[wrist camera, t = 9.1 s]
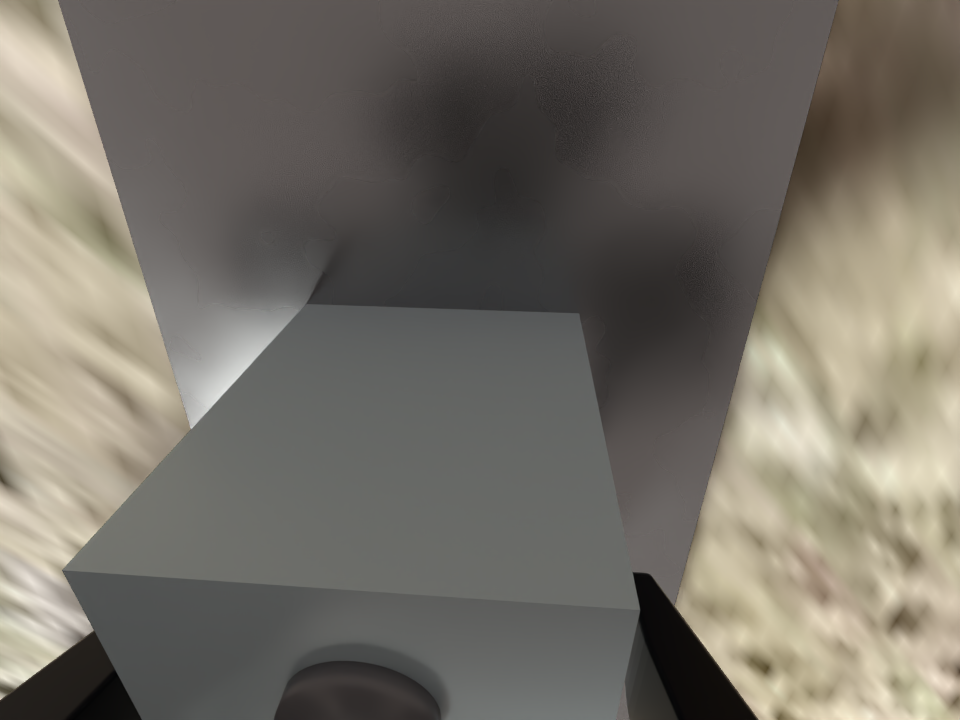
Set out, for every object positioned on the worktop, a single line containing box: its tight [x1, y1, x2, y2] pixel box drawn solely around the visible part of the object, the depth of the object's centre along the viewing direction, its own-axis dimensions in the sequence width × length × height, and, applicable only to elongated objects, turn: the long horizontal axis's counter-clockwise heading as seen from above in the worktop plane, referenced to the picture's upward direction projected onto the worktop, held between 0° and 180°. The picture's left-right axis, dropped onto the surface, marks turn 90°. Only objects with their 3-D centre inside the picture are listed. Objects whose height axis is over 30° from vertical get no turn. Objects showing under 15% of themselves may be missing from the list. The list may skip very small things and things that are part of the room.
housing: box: [62, 304, 640, 720], centre depth 9 cm, size 5×8×6 cm, turn 0°
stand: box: [58, 0, 839, 720], centre depth 13 cm, size 18×11×2 cm, turn 0°
